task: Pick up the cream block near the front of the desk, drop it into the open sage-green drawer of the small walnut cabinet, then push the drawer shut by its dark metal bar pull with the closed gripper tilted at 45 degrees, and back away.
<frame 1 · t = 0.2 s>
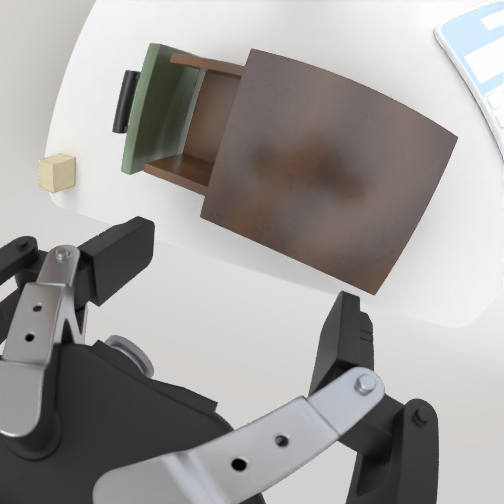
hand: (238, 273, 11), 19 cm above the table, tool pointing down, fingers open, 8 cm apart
cabinet: (329, 157, 26), on the table
block: (67, 169, 37), on the table
drawer: (198, 117, 23), point 5 cm above the table, slide at 8.0 cm
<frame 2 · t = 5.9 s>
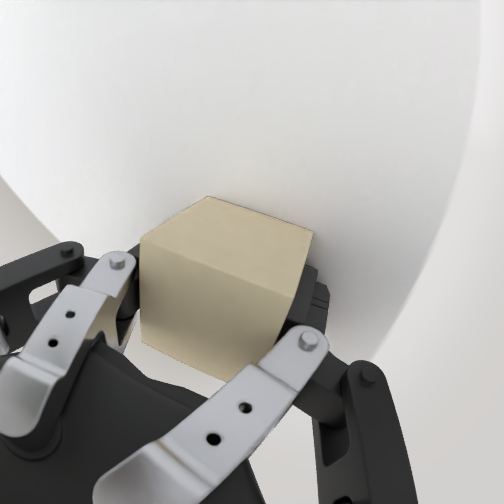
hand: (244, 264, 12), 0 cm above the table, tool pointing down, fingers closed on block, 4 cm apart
block: (246, 260, 12), on the table, touching gripper
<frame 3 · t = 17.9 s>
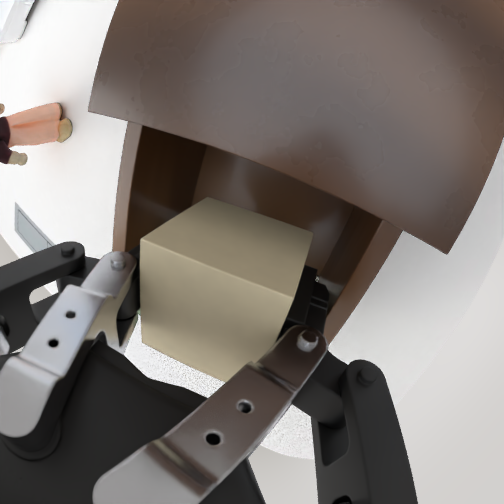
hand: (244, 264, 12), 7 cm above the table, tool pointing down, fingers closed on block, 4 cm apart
cabinet: (335, 34, 12), on the table
block: (246, 261, 12), point 7 cm above the table, touching gripper
grandmother figurine: (59, 119, 20), on the table
drawer: (247, 234, 14), point 5 cm above the table, slide at 8.0 cm
when the fingers open (9 cm above the table, at t = 23.7 s): block drops 7 cm, resting on drawer.
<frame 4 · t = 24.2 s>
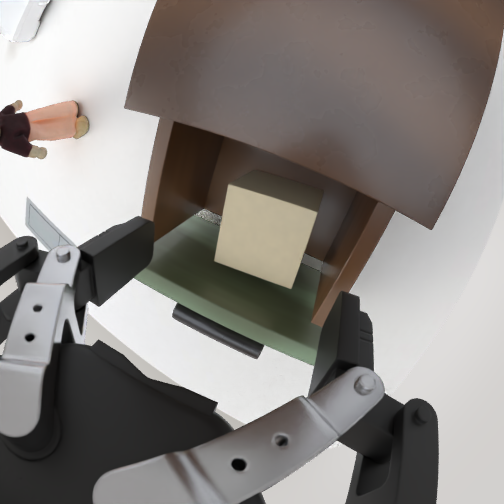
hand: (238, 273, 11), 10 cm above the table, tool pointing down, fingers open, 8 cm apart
cabinet: (338, 43, 14), on the table
block: (280, 212, 18), point 2 cm above the table, touching drawer
grandmother figurine: (75, 116, 22), on the table
drawer: (260, 220, 16), point 5 cm above the table, slide at 8.0 cm, touching block
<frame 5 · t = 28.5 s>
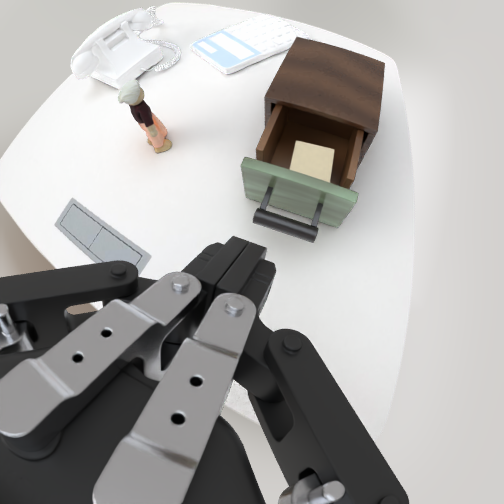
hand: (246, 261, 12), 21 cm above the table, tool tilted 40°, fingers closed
calculator: (250, 43, 44), on the table
cabinet: (322, 120, 39), on the table
block: (307, 179, 34), point 2 cm above the table, touching drawer
grandmother figurine: (158, 141, 39), on the table
telephone: (137, 59, 45), on the table
drawer: (305, 165, 31), point 5 cm above the table, slide at 8.0 cm, touching block
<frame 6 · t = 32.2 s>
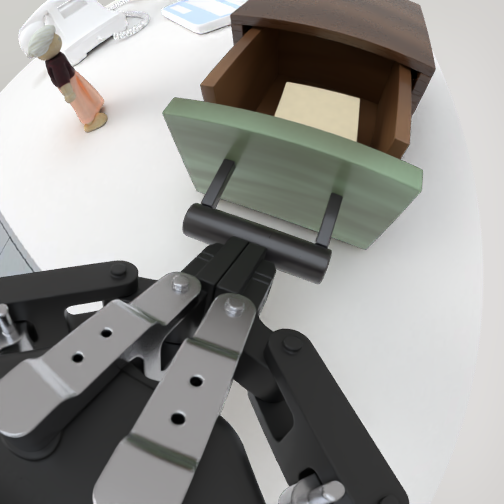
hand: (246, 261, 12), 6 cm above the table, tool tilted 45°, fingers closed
calculator: (237, 5, 31), on the table
cabinet: (332, 81, 23), on the table
block: (309, 158, 18), point 2 cm above the table, touching drawer
grandmother figurine: (93, 117, 24), on the table
telephone: (101, 33, 32), on the table
drawer: (306, 127, 16), point 5 cm above the table, slide at 8.0 cm, touching block, gripper
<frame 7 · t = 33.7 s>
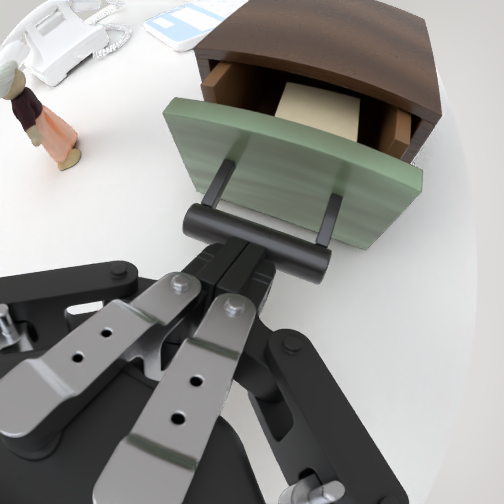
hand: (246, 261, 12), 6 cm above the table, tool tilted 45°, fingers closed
calculator: (223, 16, 29), on the table
cabinet: (322, 110, 22), on the table
block: (309, 159, 18), point 2 cm above the table, touching drawer
grandmother figurine: (68, 152, 23), on the table
telephone: (83, 49, 31), on the table
drawer: (306, 127, 16), point 5 cm above the table, slide at 3.3 cm, touching block, gripper
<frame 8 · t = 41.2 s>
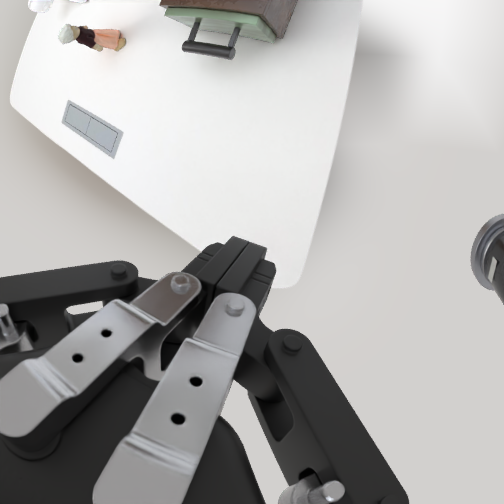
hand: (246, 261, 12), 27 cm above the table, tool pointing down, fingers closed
grandmother figurine: (116, 40, 34), on the table
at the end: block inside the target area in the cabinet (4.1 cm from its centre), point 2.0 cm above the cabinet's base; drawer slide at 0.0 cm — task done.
